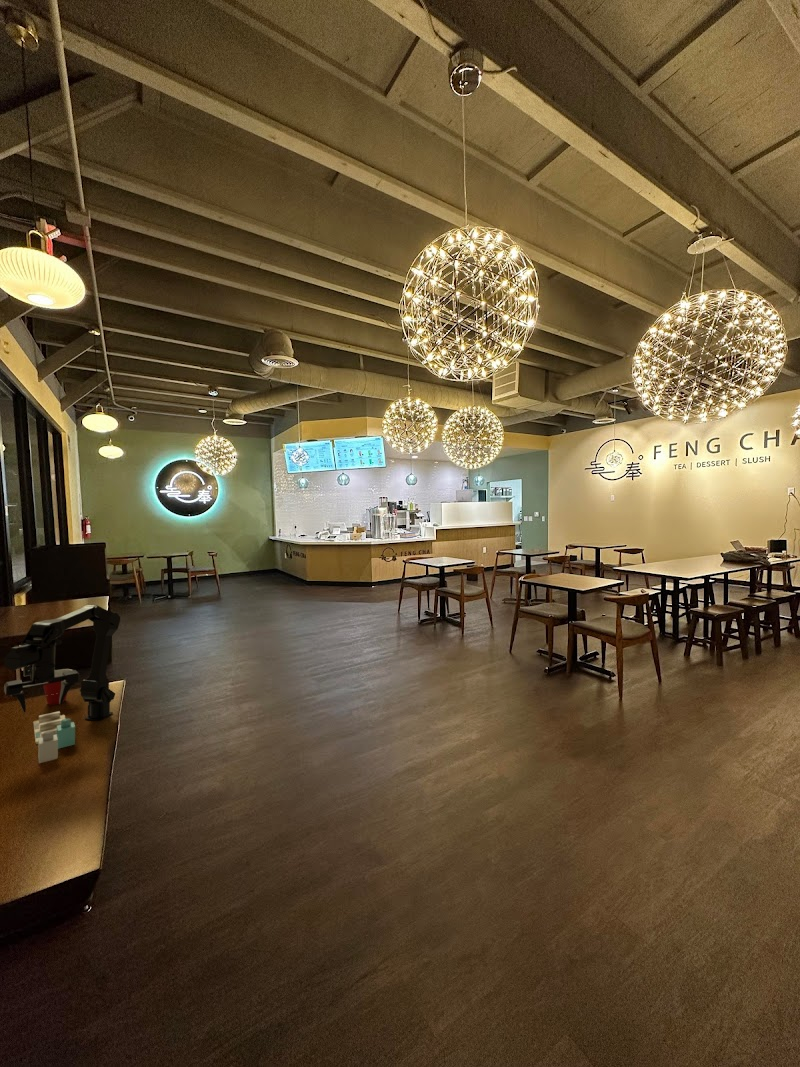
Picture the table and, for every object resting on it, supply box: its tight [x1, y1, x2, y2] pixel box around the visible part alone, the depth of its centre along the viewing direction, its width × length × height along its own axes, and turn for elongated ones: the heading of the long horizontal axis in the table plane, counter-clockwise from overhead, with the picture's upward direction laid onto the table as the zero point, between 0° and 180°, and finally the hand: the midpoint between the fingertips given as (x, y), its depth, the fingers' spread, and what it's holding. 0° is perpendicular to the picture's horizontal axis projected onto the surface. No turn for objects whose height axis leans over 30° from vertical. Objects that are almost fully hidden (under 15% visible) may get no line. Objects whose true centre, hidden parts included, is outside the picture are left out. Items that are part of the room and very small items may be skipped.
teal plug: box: [57, 718, 76, 750], centre depth 145 cm, size 4×4×8 cm
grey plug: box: [37, 731, 59, 764], centre depth 136 cm, size 4×4×8 cm
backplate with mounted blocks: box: [32, 710, 67, 745], centre depth 154 cm, size 9×19×3 cm, turn 42°
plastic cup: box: [42, 668, 73, 706], centre depth 176 cm, size 11×11×12 cm
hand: (42, 707), depth 142 cm, fingers open, 9 cm apart
